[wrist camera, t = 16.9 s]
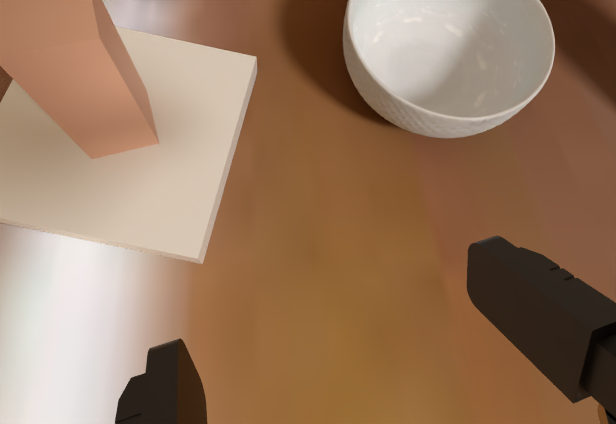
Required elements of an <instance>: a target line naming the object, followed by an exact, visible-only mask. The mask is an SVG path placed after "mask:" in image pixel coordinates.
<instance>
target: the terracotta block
mask: <svg viewBox="0 0 616 424" xmlns="http://www.w3.org/2000/svg"><path fill="white" fill-rule="evenodd" d="M0 66H1V67H2V68H3V69H4V70H5V71H6V72H7V73H8V74H9V75H10V76H11V77H12V78H13V79H14V80H15V81H16V82H17V83H18V84H19V85H20V86H21V87H22V88H23V89H24V90H25V91H26V92H27V93H28V95H29V96H30V97H31V98H32V99H33V100H34V101H35V102H36V103H37V104H38V105H39V106H40V107H41V108H42V109H43V110H44V111H45V112H46V113H47V114H48V115H49V116H50V117H51V118H52V119H53V120H54V121H55V122H56V123H57V124H58V125H59V126H60V127H61V128H62V129H63V130H64V131H65V132H66V133H67V134H68V135H69V136H70V137H71V138H72V139H73V140H74V141H75V142H76V143H77V145H78V146H79V147H80V148H81V149H82V150H83V151H84V152H85V153H86V154H87V155H88V156H89V157H90V158H91V159H95V158H99V157H104V156H108V155H112V154H116V153H121V152H125V151H129V150H133V149H138V148H142V147H146V146H150V145H155V144H159V140H158V136H157V131H156V127H155V123H154V119H153V115H152V110H151V106H150V102H149V98H148V94H147V90H146V88H145V86H144V84H143V82H142V80H141V78H140V76H139V74H138V72H137V70H136V68H135V66H134V64H133V62H132V60H131V58H130V56H129V54H128V52H127V50H126V48H125V46H124V44H123V42H122V40H121V38H120V36H119V34H118V32H117V30H116V28H115V26H114V24H113V22H112V19H111V17H110V15H109V13H108V11H107V9H106V7H105V5H104V3H103V1H102V0H0Z"/></svg>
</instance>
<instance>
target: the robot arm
mask: <svg viewBox="0 0 616 424" xmlns="http://www.w3.org/2000/svg"><path fill="white" fill-rule="evenodd" d="M467 291H468V295H469V297H470V299H471V301H472V303H473V304H474V306H475V307H476V308H477V309H478V310H479V311H480V312H481V313H482V314H483V315H484V316H485V317H486V318H487V319H488V320H489V321H490V322H491V323H492V324H493V325H494V326H495V327H496V328H497V329H498V330H499V331H500V332H501V333H502V334H503V335H504V336H505V337H506V338H507V339H508V340H509V341H510V342H511V343H513V344H514V345H515V346H516V347H517V348H518V349H519V350H520V351H521V352H522V353H523V354H524V355H525V356H526V357H527V358H528V359H529V360H530V361H531V362H532V363H533V364H534V365H535V366H536V367H537V368H538V369H539V370H540V371H541V372H542V373H543V374H544V375H545V376H546V377H547V378H548V379H549V380H550V381H551V382H552V383H553V384H554V385H555V386H556V387H557V388H558V389H559V390H560V391H561V392H562V393H563V394H564V395H565V396H566V397H567V398H568V399H569V400H570V401H571V402H572V403H576V402H578V401H580V400H583V399H585V398H587V397H590V396H592V397H593V398H594V399H595V400H596V401H597V402H598V403H599V405H598V416H599V420H600V424H616V303H615V302H613V301H612V300H610V299H609V298H607V297H606V296H604V295H603V294H601V293H600V292H598V291H597V290H595V289H594V288H592V287H591V286H589V285H588V284H586V283H584V282H583V281H581V280H580V279H578V278H574V275H572V274H571V273H569V272H568V271H566V270H565V269H563V268H562V269H560V267H559V265H557V264H556V263H554V262H553V261H551V260H549V259H548V258H546V257H545V256H543V255H542V254H539V253H536V252H533V251H530V250H528V249H525V248H522V247H520V248H517V247H515V246H514V245H512V244H511V243H510V242H508V241H507V240H505V239H504V238H502V237H500V236H494V237H491V238H488V239H484V240H481V241H478V242H475V243H472V244H471V245H470V246H469V249H468V266H467ZM115 424H207V411H206V399H205V393H204V389H203V385H202V382H201V379H200V377H199V374H198V372H197V370H196V368H195V366H194V363H193V361H192V359H191V357H190V355H189V352H188V350H187V348H186V346H185V344H184V342H183V340H182V339H177V340H174V341H171V342H168V343H165V344H162V345H159V346H155V347H152V348H150V349H149V351H148V355H147V365H146V373H144V374H141V375H138V376H135V377H132V378H131V379H130V381H129V382H128V384H127V386H126V388H125V390H124V391H123V393H122V395H121V397H120V398H119V401H118V407H117V413H116V419H115Z"/></svg>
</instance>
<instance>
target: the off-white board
mask: <svg viewBox="0 0 616 424" xmlns="http://www.w3.org/2000/svg"><path fill="white" fill-rule="evenodd" d="M115 28H116V30H117V32H118V34H119V36H120V38H121V40H122V42H123V44H124V46H125V48H126V50H127V52H128V54H129V56H130V58H131V60H132V62H133V64H134V66H135V68H136V70H137V72H138V74H139V76H140V78H141V80H142V82H143V84H144V86H145V88H146V90H147V94H148V98H149V102H150V106H151V110H152V115H153V119H154V123H155V127H156V131H157V136H158V140H159V144H155V145H150V146H146V147H142V148H138V149H133V150H129V151H125V152H121V153H116V154H112V155H108V156H104V157H99V158H95V159H91V158H90V157H89V156H88V155H87V154H86V153H85V152H84V151H83V150H82V149H81V148H80V147H79V146H78V145H77V143H76V142H75V141H74V140H73V139H72V138H71V137H70V136H69V135H68V134H67V133H66V132H65V131H64V130H63V129H62V128H61V127H60V126H59V125H58V124H57V123H56V122H55V121H54V120H53V119H52V118H51V117H50V116H49V115H48V114H47V113H46V112H45V111H44V110H43V109H42V108H41V107H40V106H39V105H38V104H37V103H36V102H35V101H34V100H33V99H32V98H31V97H30V96H29V95H28V93H27V92H26V91H25V90H24V89H23V88H22V87H21V86H20V85H19V84H18V83H17V82H16V81H15V80H14V79H13V80H12V82H11V84H10V86H9V88H8V89H7V91H6V93H5V95H4V97H3V99H2V101H1V102H0V223H4V224H9V225H14V226H19V227H24V228H29V229H34V230H39V231H44V232H48V233H53V234H58V235H63V236H68V237H73V238H78V239H83V240H87V241H92V242H97V243H102V244H107V245H112V246H117V247H122V248H126V249H131V250H136V251H141V252H146V253H151V254H156V255H161V256H165V257H170V258H175V259H180V260H185V261H190V262H195V263H200V264H203V261H204V258H205V254H206V251H207V247H208V244H209V240H210V236H211V233H212V229H213V226H214V222H215V219H216V215H217V212H218V208H219V205H220V201H221V198H222V194H223V191H224V187H225V184H226V180H227V177H228V173H229V170H230V166H231V163H232V159H233V156H234V152H235V149H236V145H237V142H238V138H239V135H240V131H241V128H242V124H243V121H244V117H245V114H246V110H247V107H248V103H249V100H250V96H251V92H252V89H253V85H254V82H255V78H256V75H257V59H256V57H254V56H250V55H245V54H240V53H236V52H231V51H227V50H222V49H217V48H213V47H208V46H203V45H199V44H194V43H190V42H185V41H180V40H176V39H171V38H166V37H162V36H157V35H153V34H148V33H143V32H139V31H134V30H129V29H125V28H120V27H116V26H115Z"/></svg>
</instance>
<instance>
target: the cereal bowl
mask: <svg viewBox="0 0 616 424" xmlns="http://www.w3.org/2000/svg"><path fill="white" fill-rule="evenodd" d="M343 49H344V57H345V62H346V65H347V69H348V72H349V74H350V76H351V79H352V81H353V83H354V86H355V87H356V88H357V90H358V92H359V94H360V95H361V96H362V97H363V98H364V101H366V102H367V104H369V105H370V106H371V108H372V109H374V110H375V111H376V112H377V113H378V114H380V116H382V117H384V118H385V120H388V121H389V122H391V123H393V124H394V125H396V126H398V127H399V128H402V129H404V130H407V131H409V132H412V133H416V134H420V135H424V136H428V137H436V138H457V137H465V136H469V135H475V134H477V133H482V132H484V131H486V130H489V129H492V128H494V127H495V126H497V125H500V124H502V123H503V122H504V121H506V120H508V119H509V118H511V117H512V116H513V115H514V114H516V113H518V112H519V111H520V110H521V109H522V108H523V107H525V106H526V105H527V104H528V103H529V102H530V101H531V100H532V99H533V98H534V97H535V96H536V95H537V94H538V92H539V91H540V90H541V88H542V87H543V85H544V84H545V82H546V80H547V79H548V76H549V74H550V72H551V69H552V65H553V60H554V55H555V38H554V32H553V28H552V25H551V21H550V19H549V16H548V14H547V12H546V10H545V8H544V6H543V4H542V3H541V1H540V0H348V2H347V8H346V13H345V17H344V26H343Z"/></svg>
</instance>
